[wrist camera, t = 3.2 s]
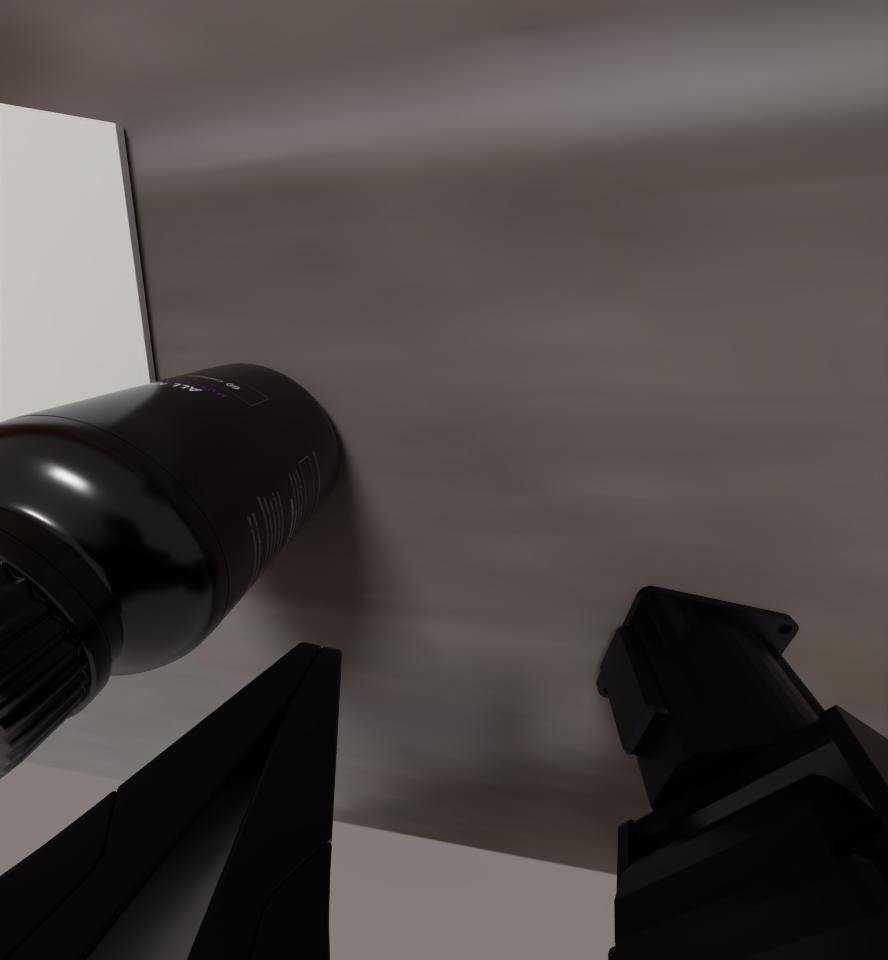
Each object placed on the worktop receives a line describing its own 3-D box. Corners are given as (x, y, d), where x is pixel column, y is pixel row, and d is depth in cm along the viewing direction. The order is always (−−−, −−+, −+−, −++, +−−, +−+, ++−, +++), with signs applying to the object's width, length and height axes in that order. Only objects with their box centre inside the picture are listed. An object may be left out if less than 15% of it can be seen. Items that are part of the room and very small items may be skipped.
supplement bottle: (246, 320, 15) (-370, 383, 4) (377, 453, 17) (157, 742, 6) (156, 435, 18) (-383, 658, 7) (278, 542, 19) (-6, 862, 8)
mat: (123, 126, 13) (115, 123, 13) (184, 605, 22) (180, 609, 21) (-276, 57, 14) (-292, 52, 14) (-65, 549, 22) (-72, 553, 22)
